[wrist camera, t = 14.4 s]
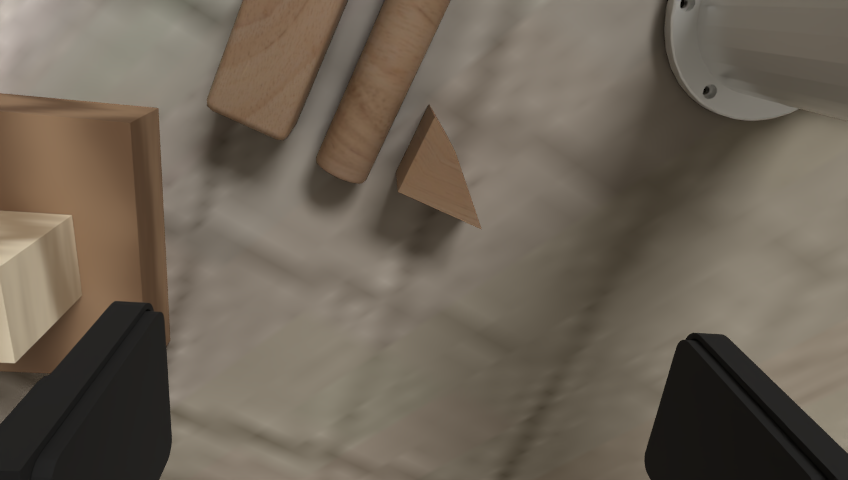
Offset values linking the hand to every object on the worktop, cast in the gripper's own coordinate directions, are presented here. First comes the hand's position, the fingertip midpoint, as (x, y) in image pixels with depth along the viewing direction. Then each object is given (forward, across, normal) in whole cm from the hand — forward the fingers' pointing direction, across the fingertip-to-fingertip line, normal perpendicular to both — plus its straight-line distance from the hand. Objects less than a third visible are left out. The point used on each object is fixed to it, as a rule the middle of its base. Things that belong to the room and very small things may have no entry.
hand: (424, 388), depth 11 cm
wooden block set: (+29, -1, -5) cm, 29 cm away
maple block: (+24, +20, +9) cm, 32 cm away
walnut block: (+29, +20, +9) cm, 36 cm away
